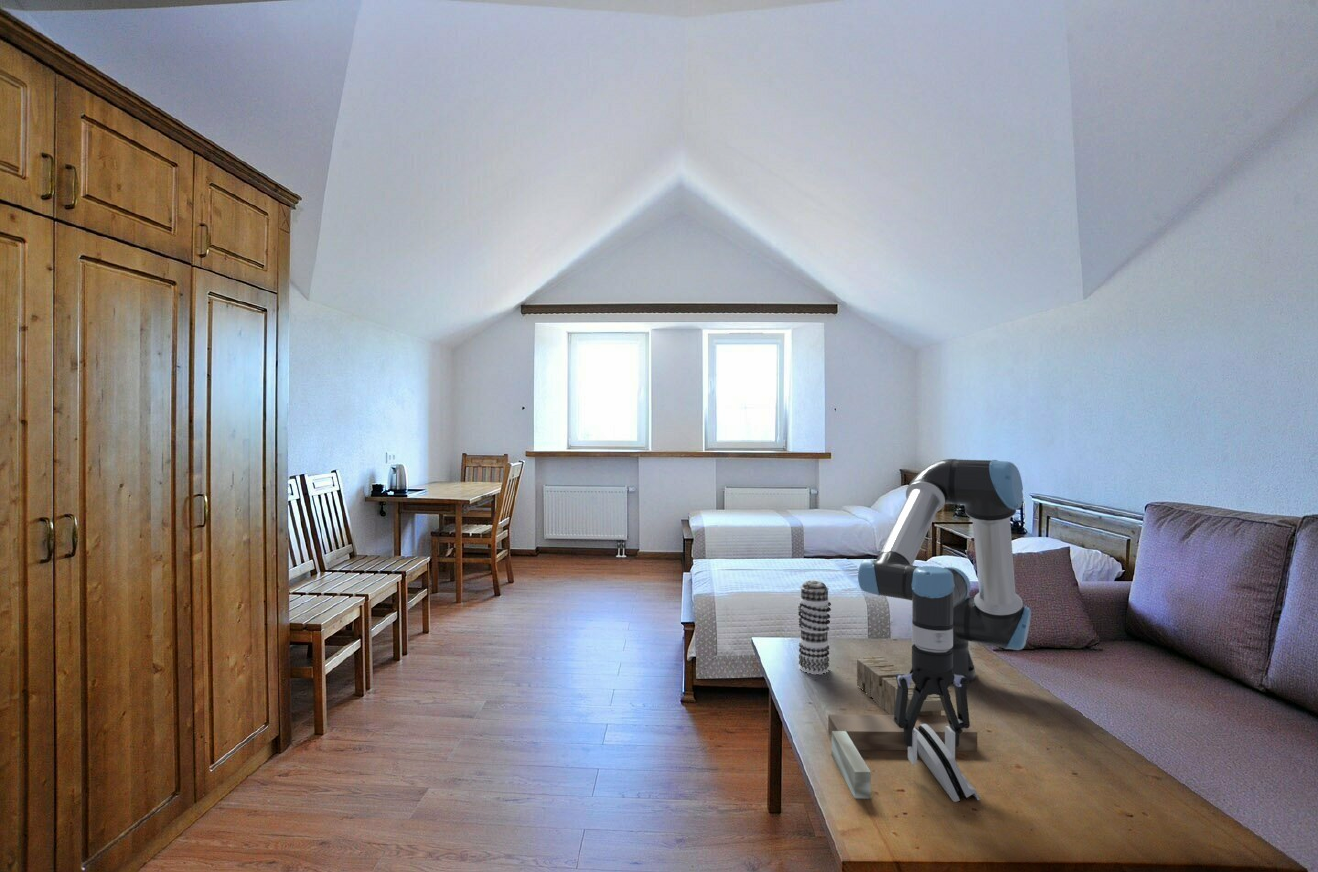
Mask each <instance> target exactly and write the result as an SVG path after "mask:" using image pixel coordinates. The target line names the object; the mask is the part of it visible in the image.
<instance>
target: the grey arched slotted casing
mask: <svg viewBox="0 0 1318 872" xmlns="http://www.w3.org/2000/svg"><path fill="white" fill-rule="evenodd" d="M918 728H919V729H917V728H914V729H915V730H916V731H917V754H918V755H919V757H920V759H921V760H922V761H923V763H924V765H926V766H927V768H928V770H930V772H931V774H932V775H933V776H934V778H935V779H936V781H938V783H939V784H940V786H941V787H942V788H943V789H944V792H946V793H947V795H948V796H949V798H950V800H952V801H953V802H954V803H956V802H959V801H960V802H961V799H960V798H962V797H966V798H969V797H971V796H972V795H973V796H974V797H975V799H976V800H977V801H980V800H981V797H980V795H979V794H978V793H979V792H977V789H975V787H974V786H973V785H972V784H971V783H970V782H969V780H968V779H967V778H966V776H965V775H963V773H962V771H961V769H960V767H959V765H958V762H957V761H956V758H955V759H954V757H953V756H952V754H951V753H950V751H949V750H948V749H947V747H946V746H945V744H944V743H943V742H942V740H941V739H940V738H939V737H938V735H937V734H936V733H935V732H934V731H933V730H932V729H931V728H930V727H929V726H928V725H927V724H921V725H919V727H918ZM960 794H961V795H962V797H961V795H960Z"/></svg>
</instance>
